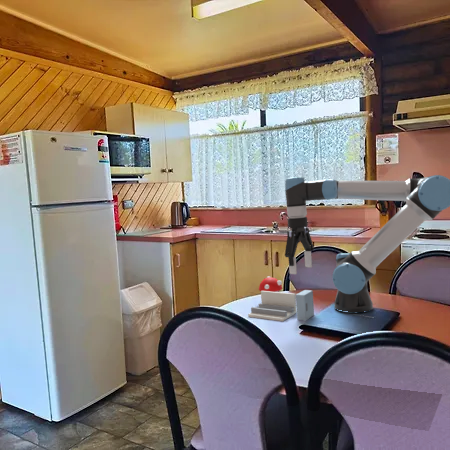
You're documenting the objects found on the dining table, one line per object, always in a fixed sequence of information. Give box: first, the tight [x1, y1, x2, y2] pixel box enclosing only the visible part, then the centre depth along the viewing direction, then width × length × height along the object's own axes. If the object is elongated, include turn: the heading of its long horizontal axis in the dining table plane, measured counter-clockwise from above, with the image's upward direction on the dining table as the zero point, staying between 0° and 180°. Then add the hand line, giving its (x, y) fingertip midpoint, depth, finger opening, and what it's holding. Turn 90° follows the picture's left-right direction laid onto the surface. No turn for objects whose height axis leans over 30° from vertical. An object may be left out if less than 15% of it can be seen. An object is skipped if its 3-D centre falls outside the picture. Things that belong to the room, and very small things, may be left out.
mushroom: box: [258, 276, 283, 292], centre depth 189 cm, size 11×11×12 cm
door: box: [295, 289, 315, 322], centre depth 165 cm, size 8×4×10 cm, turn 144°
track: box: [247, 291, 297, 322], centre depth 171 cm, size 16×12×8 cm
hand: (301, 270), depth 164 cm, fingers open, 13 cm apart
